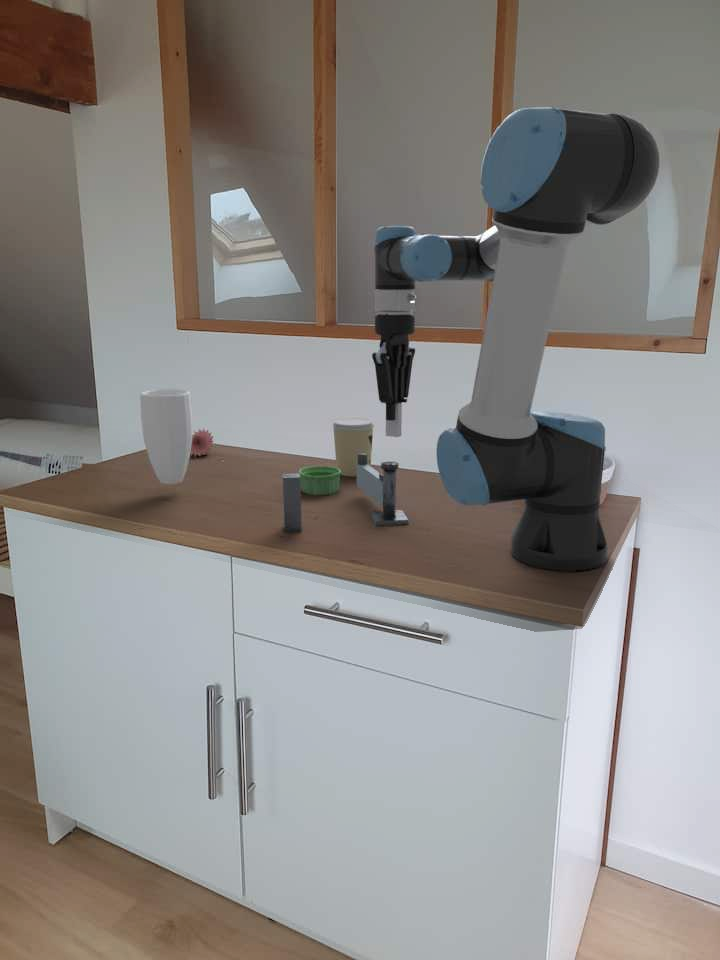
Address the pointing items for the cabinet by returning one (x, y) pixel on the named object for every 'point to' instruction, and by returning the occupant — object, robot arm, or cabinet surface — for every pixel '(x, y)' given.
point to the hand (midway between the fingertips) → (393, 435)
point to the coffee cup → (352, 443)
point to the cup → (167, 432)
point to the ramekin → (319, 480)
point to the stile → (292, 502)
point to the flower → (201, 443)
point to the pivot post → (389, 498)
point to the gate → (369, 479)
